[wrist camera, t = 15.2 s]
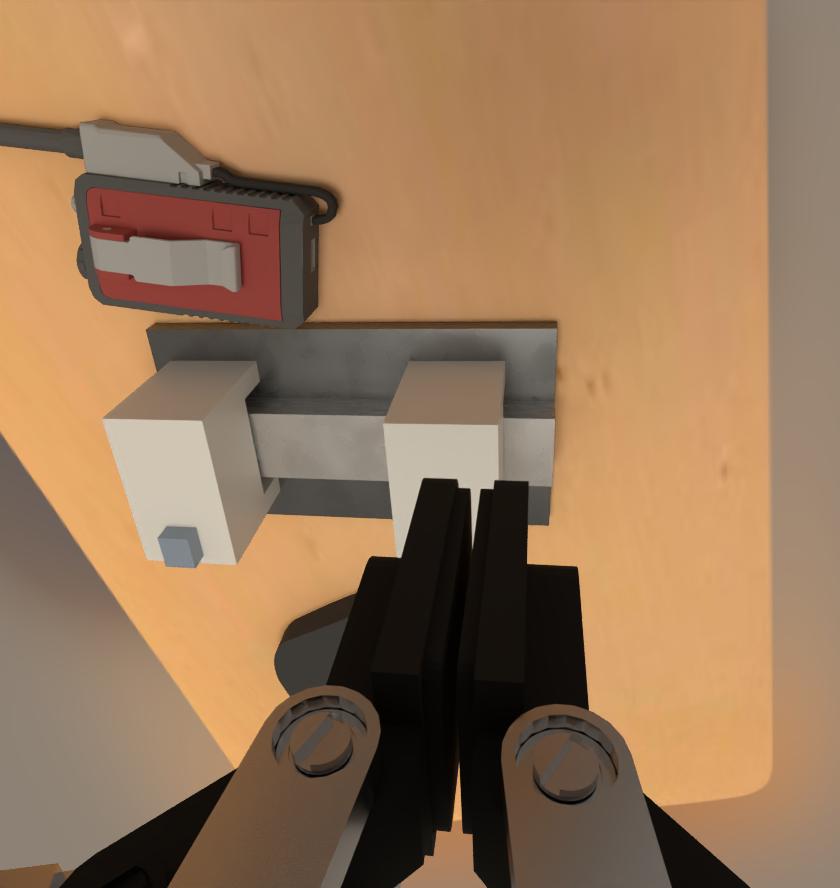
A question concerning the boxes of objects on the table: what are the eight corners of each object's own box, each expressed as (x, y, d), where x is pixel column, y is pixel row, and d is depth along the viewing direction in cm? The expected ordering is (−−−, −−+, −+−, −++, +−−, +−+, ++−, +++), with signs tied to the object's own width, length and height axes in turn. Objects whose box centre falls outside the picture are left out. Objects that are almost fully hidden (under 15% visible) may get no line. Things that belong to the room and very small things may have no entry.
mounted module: (170, 360, 38) (90, 429, 31) (256, 360, 37) (192, 431, 30) (203, 487, 42) (137, 572, 35) (280, 490, 41) (229, 577, 35)
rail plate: (154, 323, 38) (126, 343, 36) (556, 321, 35) (558, 343, 32) (200, 501, 44) (180, 529, 42) (548, 515, 41) (549, 547, 38)
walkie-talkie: (345, 145, 32) (-46, 101, 34) (320, 157, 29) (-119, 107, 30) (340, 321, 37) (-5, 274, 39) (318, 352, 33) (-65, 298, 35)
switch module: (408, 360, 36) (378, 434, 29) (505, 360, 35) (496, 436, 28) (419, 497, 40) (394, 589, 33) (505, 500, 39) (498, 595, 32)
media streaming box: (432, 558, 44) (425, 590, 42) (540, 703, 49) (540, 739, 47) (263, 627, 50) (247, 659, 47) (375, 751, 55) (367, 786, 52)
